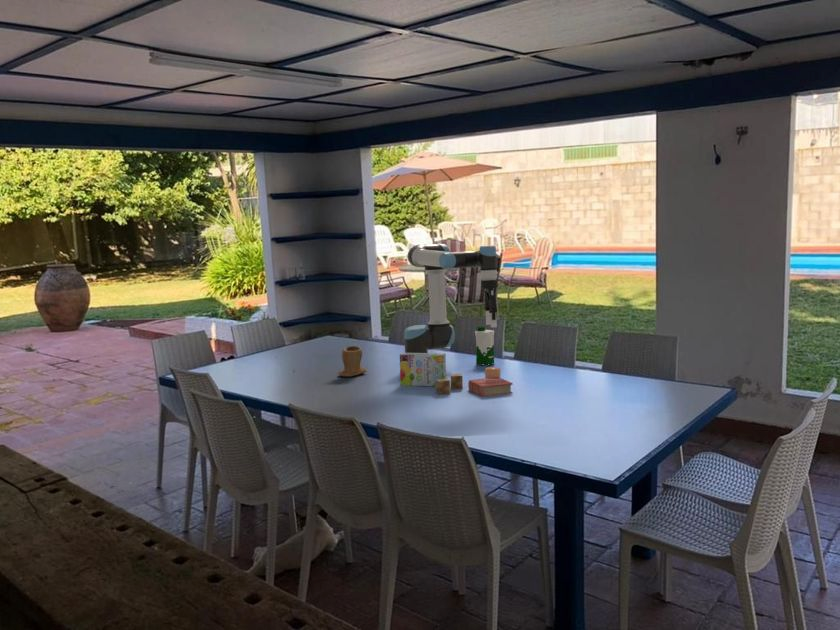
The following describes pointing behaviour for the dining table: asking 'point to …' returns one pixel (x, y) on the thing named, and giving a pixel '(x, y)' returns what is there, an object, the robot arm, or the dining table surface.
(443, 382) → the block
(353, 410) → the dining table surface
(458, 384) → the block
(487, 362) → the milk carton
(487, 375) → the tan rounded glossy cylinder
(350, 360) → the orange vase
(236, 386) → the dining table surface
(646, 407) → the dining table surface
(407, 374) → the snack box
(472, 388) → the book
